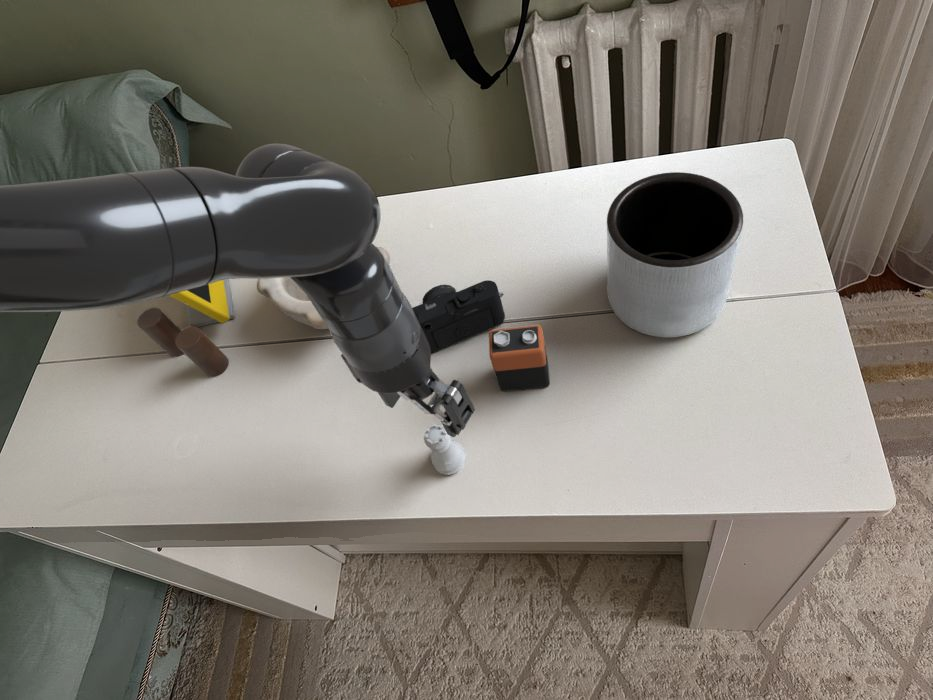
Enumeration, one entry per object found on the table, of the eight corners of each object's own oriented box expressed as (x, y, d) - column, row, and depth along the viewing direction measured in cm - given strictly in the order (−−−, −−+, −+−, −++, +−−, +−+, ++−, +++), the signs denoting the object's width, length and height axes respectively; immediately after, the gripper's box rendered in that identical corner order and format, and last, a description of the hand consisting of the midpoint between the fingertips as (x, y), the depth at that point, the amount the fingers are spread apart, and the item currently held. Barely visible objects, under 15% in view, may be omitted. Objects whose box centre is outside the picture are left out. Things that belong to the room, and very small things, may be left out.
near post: (217, 380, 96) (187, 352, 90) (199, 371, 98) (169, 343, 92) (233, 360, 98) (206, 331, 91) (216, 351, 100) (188, 322, 93)
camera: (495, 288, 95) (486, 253, 89) (513, 323, 91) (504, 289, 85) (408, 325, 95) (392, 292, 88) (422, 361, 91) (406, 330, 84)
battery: (499, 365, 88) (487, 324, 79) (548, 360, 86) (540, 318, 78) (500, 392, 85) (487, 353, 77) (550, 388, 84) (543, 347, 76)
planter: (714, 353, 82) (731, 278, 69) (593, 328, 88) (589, 255, 75) (735, 261, 89) (755, 177, 76) (623, 243, 95) (624, 163, 82)
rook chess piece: (466, 475, 80) (452, 449, 73) (432, 477, 81) (415, 451, 74) (467, 442, 82) (453, 415, 76) (433, 445, 83) (418, 417, 76)
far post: (179, 360, 100) (148, 332, 94) (163, 351, 102) (131, 323, 95) (195, 341, 102) (166, 312, 95) (179, 333, 103) (150, 304, 97)
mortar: (413, 289, 98) (396, 250, 91) (338, 366, 93) (313, 331, 86) (343, 248, 107) (322, 209, 99) (270, 317, 101) (242, 281, 94)
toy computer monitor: (240, 331, 101) (185, 268, 88) (195, 350, 101) (132, 289, 88) (226, 249, 112) (176, 183, 99) (185, 266, 112) (129, 201, 99)
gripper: (298, 341, 59) (357, 417, 72) (421, 396, 53) (461, 469, 66) (344, 282, 62) (393, 366, 75) (465, 328, 56) (495, 411, 69)
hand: (425, 414), depth 71 cm, fingers open, 8 cm apart
